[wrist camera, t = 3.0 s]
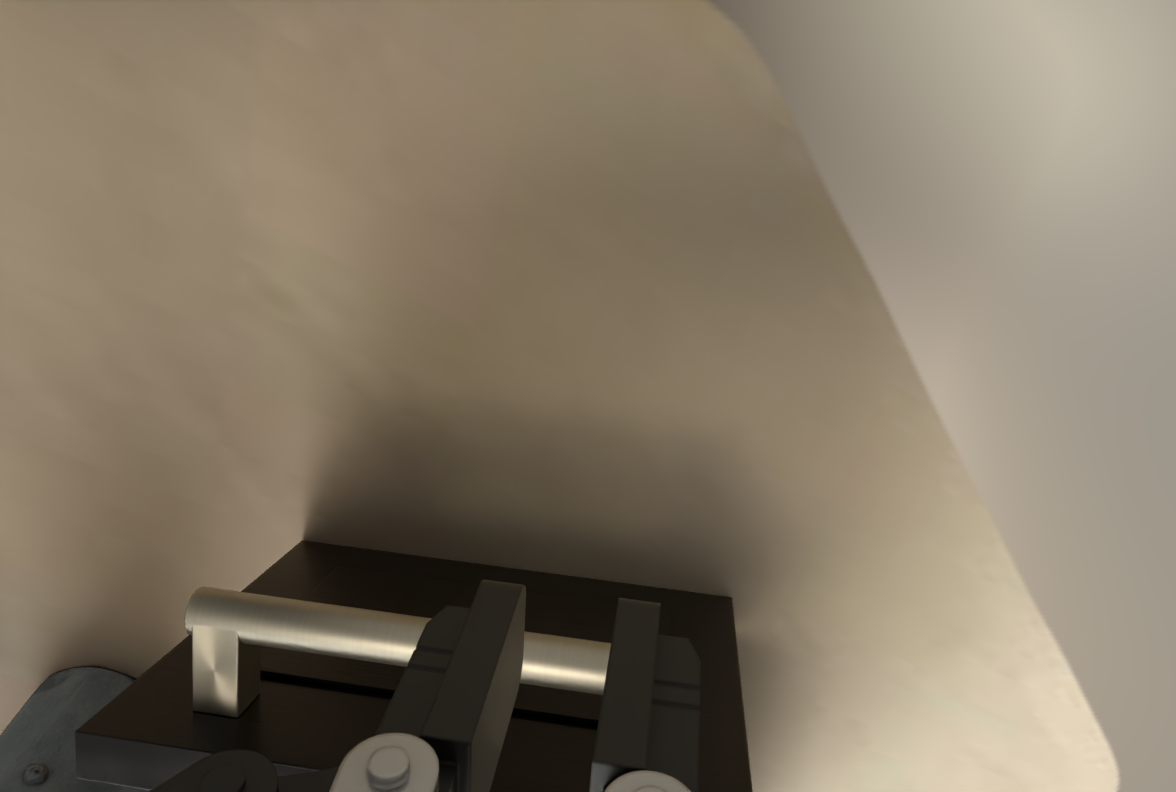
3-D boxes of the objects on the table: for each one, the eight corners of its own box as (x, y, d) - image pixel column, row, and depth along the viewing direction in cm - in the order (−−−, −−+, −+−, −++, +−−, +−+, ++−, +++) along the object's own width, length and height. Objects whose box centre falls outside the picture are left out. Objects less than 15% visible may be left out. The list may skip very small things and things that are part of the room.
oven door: (303, 463, 41) (69, 613, 25) (742, 517, 39) (776, 715, 23) (300, 571, 42) (75, 779, 26) (727, 629, 40) (750, 888, 25)
